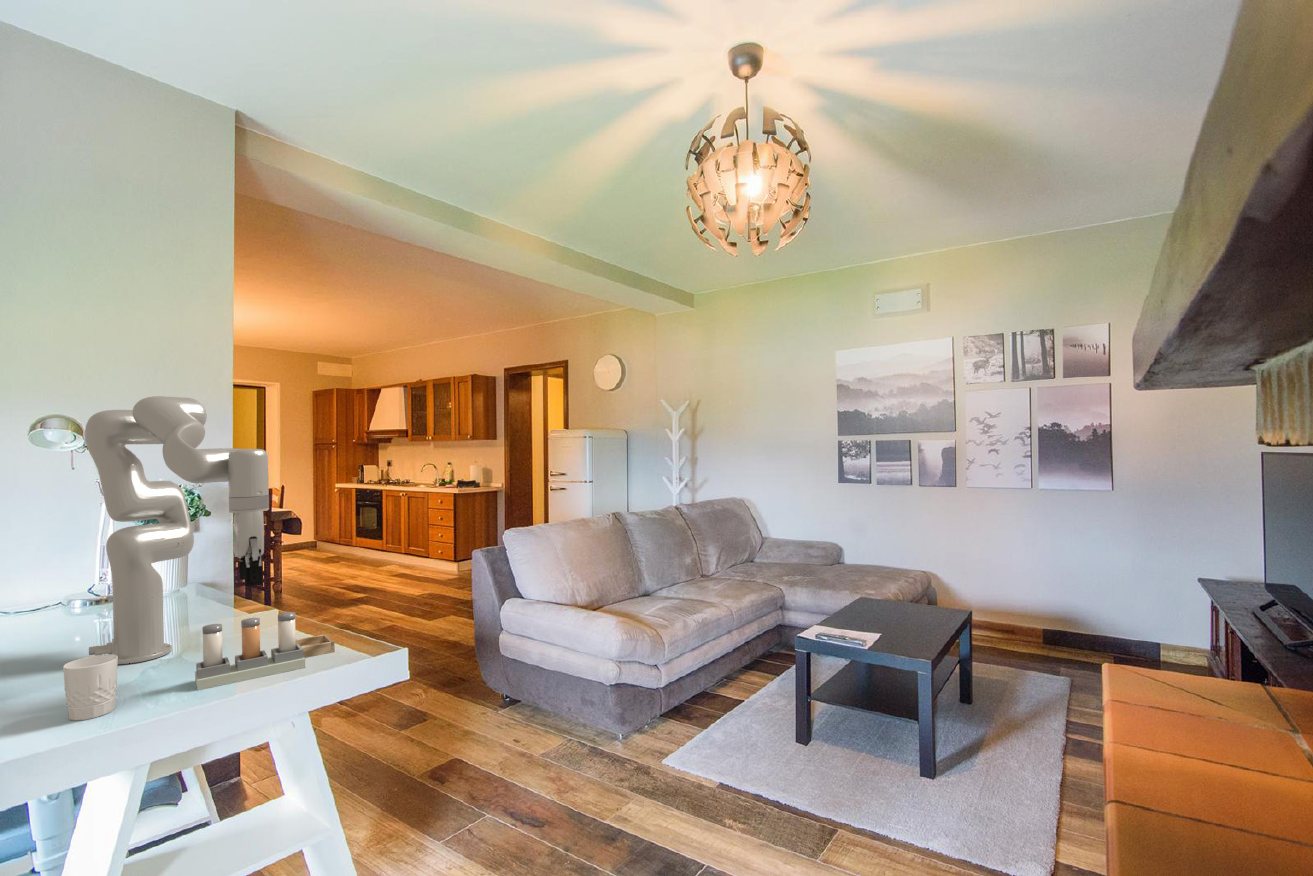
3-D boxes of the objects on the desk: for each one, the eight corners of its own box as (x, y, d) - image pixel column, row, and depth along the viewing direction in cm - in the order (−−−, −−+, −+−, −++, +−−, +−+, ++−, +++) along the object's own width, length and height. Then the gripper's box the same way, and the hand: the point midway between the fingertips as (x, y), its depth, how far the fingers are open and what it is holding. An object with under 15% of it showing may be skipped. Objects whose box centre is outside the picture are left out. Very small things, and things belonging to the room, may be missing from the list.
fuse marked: (243, 669, 141) (242, 623, 141) (241, 664, 144) (240, 619, 144) (261, 665, 143) (260, 620, 143) (259, 661, 146) (258, 616, 146)
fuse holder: (197, 690, 134) (197, 671, 134) (195, 680, 140) (194, 662, 140) (305, 667, 147) (304, 650, 147) (299, 659, 152) (299, 642, 152)
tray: (295, 659, 152) (295, 649, 152) (288, 650, 159) (288, 641, 159) (334, 651, 158) (334, 641, 158) (326, 643, 164) (326, 634, 164)
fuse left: (203, 676, 137) (203, 629, 137) (202, 672, 139) (201, 626, 139) (223, 672, 139) (222, 626, 139) (222, 668, 141) (221, 622, 141)
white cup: (128, 707, 126) (127, 656, 126) (81, 724, 119) (80, 670, 119) (101, 703, 129) (100, 652, 129) (53, 719, 121) (52, 666, 121)
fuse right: (279, 661, 145) (279, 617, 145) (277, 657, 148) (276, 614, 148) (297, 658, 147) (296, 614, 147) (294, 654, 150) (293, 611, 150)
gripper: (224, 503, 148) (226, 578, 148) (233, 508, 134) (235, 591, 134) (262, 500, 153) (264, 573, 153) (275, 505, 139) (276, 585, 139)
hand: (250, 581), depth 144 cm, fingers open, 9 cm apart
